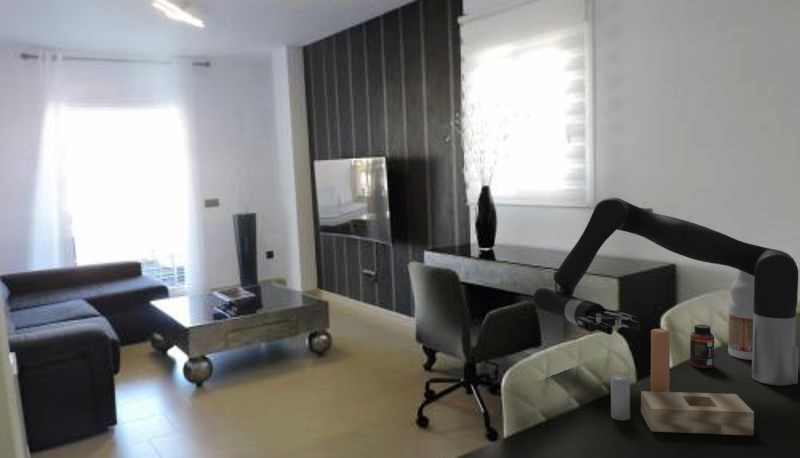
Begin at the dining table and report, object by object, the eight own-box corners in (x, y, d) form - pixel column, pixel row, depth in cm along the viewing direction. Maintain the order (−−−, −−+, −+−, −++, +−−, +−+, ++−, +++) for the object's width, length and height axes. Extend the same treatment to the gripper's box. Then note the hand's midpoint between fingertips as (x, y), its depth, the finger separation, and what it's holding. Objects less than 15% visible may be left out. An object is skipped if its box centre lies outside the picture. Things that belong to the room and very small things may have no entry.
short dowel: (628, 413, 137) (627, 375, 136) (631, 420, 133) (631, 381, 132) (609, 413, 138) (609, 374, 137) (612, 420, 134) (612, 381, 133)
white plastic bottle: (723, 356, 174) (725, 260, 171) (734, 348, 181) (736, 256, 178) (759, 363, 167) (762, 263, 164) (769, 354, 174) (772, 259, 171)
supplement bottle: (716, 369, 163) (717, 329, 162) (693, 369, 164) (693, 328, 163) (710, 362, 169) (710, 323, 168) (687, 361, 170) (687, 322, 169)
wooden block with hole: (735, 415, 134) (736, 394, 134) (753, 435, 124) (754, 412, 124) (640, 412, 138) (641, 391, 137) (651, 431, 128) (651, 408, 127)
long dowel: (666, 403, 142) (667, 328, 140) (671, 409, 138) (672, 333, 136) (648, 402, 143) (649, 328, 141) (652, 409, 139) (653, 333, 137)
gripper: (563, 302, 162) (602, 317, 147) (606, 297, 167) (649, 311, 152) (562, 329, 163) (601, 346, 148) (606, 324, 168) (648, 340, 152)
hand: (625, 328), depth 150 cm, fingers open, 8 cm apart
